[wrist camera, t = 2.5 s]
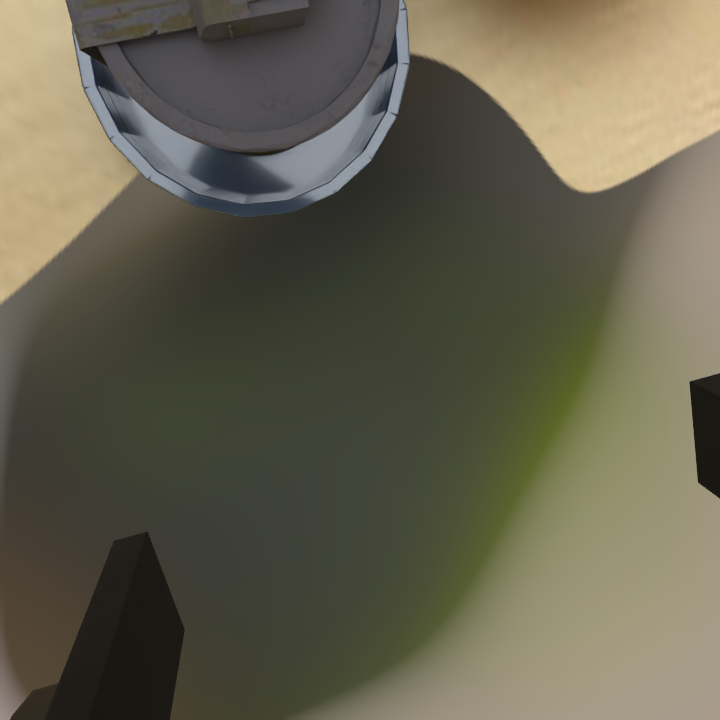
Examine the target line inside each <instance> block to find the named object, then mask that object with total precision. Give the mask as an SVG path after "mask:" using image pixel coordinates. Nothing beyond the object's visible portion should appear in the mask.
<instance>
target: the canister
mask: <svg viewBox="0 0 720 720" xmlns="http://www.w3.org/2000/svg"><path fill="white" fill-rule="evenodd" d="M399 2H400V0H66V4H67V7H68V11H69V14H70V18H71V21H72V25H73V28H74V32H75V35H76V39H77V42H78V46H79V49H80V51H82V52H84V53H85V54H87V55H89V56H90V57H92V58H94V59H95V60H97V61H99V62H100V63H102V64H104V65H105V66H107V67H109V68H110V70H111V72H112V74H113V75H114V76H115V78H116V79H117V80H118V81H119V83H120V84H121V85H122V87H123V88H124V89H125V90H126V92H127V93H128V94H129V95H130V97H131V98H133V99H134V100H135V101H136V102H137V103H138V104H139V105H140V106H141V107H142V108H144V109H145V110H146V111H147V112H148V113H149V114H150V115H151V116H152V117H153V118H155V119H156V120H158V121H159V122H161V123H162V124H164V125H166V126H167V127H169V128H170V129H172V130H173V131H175V132H177V133H179V134H181V135H183V136H185V137H187V138H189V139H191V140H194V141H196V142H199V143H202V144H205V145H208V146H211V147H214V148H219V149H224V150H226V151H229V152H233V153H236V154H241V155H249V156H264V155H272V154H276V153H280V152H284V151H287V150H289V149H291V148H294V147H296V146H297V145H299V144H301V143H304V142H306V141H309V140H311V139H313V138H315V137H317V136H318V135H320V134H322V133H324V132H326V131H328V130H329V129H331V128H332V127H334V126H335V125H336V124H337V123H339V122H340V121H341V120H342V119H343V118H345V117H346V116H347V115H348V114H349V113H350V112H351V111H352V110H353V109H354V108H356V106H357V105H358V104H359V103H360V102H361V100H362V99H363V98H364V97H365V95H366V94H367V93H368V92H369V90H370V89H371V87H372V85H373V84H374V82H375V81H376V79H377V77H378V76H379V74H380V72H381V70H382V68H383V66H384V63H385V61H386V59H387V57H388V55H389V53H390V49H391V45H392V42H393V38H394V34H395V30H396V27H397V23H398V16H399Z"/></svg>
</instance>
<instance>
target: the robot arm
mask: <svg viewBox="0 0 720 720" xmlns="http://www.w3.org/2000/svg"><path fill="white" fill-rule="evenodd" d="M690 393H691V405H692V416H693V428H694V440H695V451H696V463H697V475H698V483H700V484H701V485H702V486H704V487H705V488H706V489H708V490H709V491H710V492H712V493H713V494H715V495H716V496H717V497H719V498H720V373H719V374H716V375H712V376H709V377H705V378H701V379H698V380H694V381H691V382H690ZM183 636H184V626H183V624H182V621H181V619H180V616H179V614H178V611H177V608H176V606H175V603H174V600H173V598H172V595H171V592H170V590H169V587H168V584H167V582H166V579H165V576H164V574H163V571H162V569H161V566H160V563H159V561H158V558H157V555H156V553H155V550H154V548H153V545H152V542H151V540H150V537H149V534H148V532H144V533H141V534H137V535H134V536H130V537H126V538H123V539H119V540H115V541H114V542H113V545H112V547H111V550H110V553H109V555H108V558H107V561H106V563H105V565H104V568H103V571H102V573H101V576H100V578H99V581H98V583H97V586H96V589H95V591H94V594H93V596H92V599H91V601H90V604H89V607H88V609H87V612H86V614H85V617H84V619H83V622H82V624H81V627H80V630H79V632H78V635H77V637H76V640H75V642H74V645H73V648H72V650H71V653H70V655H69V658H68V661H67V663H66V666H65V668H64V671H63V673H62V676H61V679H60V681H59V683H57V684H54V685H50V686H47V687H43V688H40V689H36V690H33V691H32V692H31V694H30V695H29V696H28V697H27V698H26V700H25V701H24V702H23V703H22V704H21V706H20V707H19V708H18V709H17V710H16V712H15V713H14V714H13V715H12V717H11V719H10V720H170V714H171V709H172V702H173V696H174V690H175V685H176V679H177V672H178V667H179V661H180V654H181V648H182V643H183Z"/></svg>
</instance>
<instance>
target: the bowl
mask: <svg viewBox="0 0 720 720" xmlns="http://www.w3.org/2000/svg"><path fill="white" fill-rule="evenodd" d="M72 31H73V32H72V34H73V39H74V44H75V50H76V55H77V60H78V66H79V71H80V76H81V81H82V87H83V88H84V92H85V94H86V96H87V98H88V100H89V102H90V104H91V105H92V107H93V109H94V111H95V113H96V115H97V117H98V119H99V121H100V123H101V125H102V127H103V129H104V131H105V133H106V135H107V137H108V138H109V139H110V141H111V142H112V144H113V145H114V146H115V147H116V148H117V149H118V150H119V151H120V152H121V153H122V154H123V155H124V156H125V157H126V158H127V159H128V160H129V161H130V162H131V164H132V165H133V166H134V167H135V168H136V169H137V170H138V171H139V172H140V173H141V174H142V175H143V176H144V177H145V178H146V179H147V180H149V181H150V182H151V183H153V184H155V185H157V186H158V187H160V188H162V189H164V190H165V191H167V192H169V193H171V194H172V195H174V196H176V197H178V198H179V199H181V200H183V201H185V202H186V203H188V204H190V205H192V206H194V207H198V208H202V209H207V210H211V211H215V212H220V213H224V214H229V215H234V216H238V217H255V216H265V215H276V214H286V213H291V212H295V211H297V210H300V209H302V208H304V207H306V206H309V205H311V204H313V203H315V202H317V201H320V200H322V199H324V198H327V197H329V196H331V195H333V194H335V193H337V192H338V191H339V190H340V189H341V188H343V187H344V186H345V185H346V184H347V183H348V182H349V181H350V180H351V179H352V178H354V177H355V176H356V175H357V174H358V173H359V172H360V171H361V170H362V169H363V168H365V167H366V166H367V165H368V164H369V163H370V162H371V161H372V159H374V157H375V155H376V153H377V152H378V150H379V148H380V146H381V145H382V143H383V141H384V140H385V138H386V136H387V134H388V132H389V131H390V129H391V127H392V126H393V124H394V122H395V121H396V119H397V116H398V114H399V110H400V106H401V101H402V97H403V92H404V88H405V84H406V80H407V75H408V71H409V67H410V65H409V64H410V54H409V37H408V19H407V9H406V5H405V2H404V0H400V2H399V16H398V23H397V27H396V30H395V34H394V38H393V42H392V45H391V49H390V53H389V55H388V57H387V59H386V61H385V63H384V66H383V68H382V70H381V72H380V74H379V76H378V77H377V79H376V81H375V82H374V84H373V85H372V87H371V89H370V90H369V92H368V93H367V94H366V95H365V97H364V98H363V99H362V100H361V102H360V103H359V104H358V105H357V106H356V108H354V109H353V110H352V111H351V112H350V113H349V114H348V115H347V116H346V117H345V118H343V119H342V120H341V121H340V122H339V123H337V124H336V125H335V126H334V127H332V128H331V129H329V130H328V131H326V132H324V133H322V134H320V135H318V136H317V137H315V138H313V139H311V140H309V141H306V142H304V143H301V144H299V145H297V146H296V147H294V148H291V149H289V150H287V151H284V152H280V153H276V154H272V155H264V156H249V155H241V154H236V153H233V152H229V151H226V150H224V149H219V148H214V147H211V146H208V145H205V144H202V143H199V142H196V141H194V140H191V139H189V138H187V137H185V136H183V135H181V134H179V133H177V132H175V131H173V130H172V129H170V128H169V127H167V126H166V125H164V124H162V123H161V122H159V121H158V120H156V119H155V118H153V117H152V116H151V115H150V114H149V113H148V112H147V111H146V110H145V109H144V108H142V107H141V106H140V105H139V104H138V103H137V102H136V101H135V100H134V99H133V98H131V97H130V95H129V94H128V93H127V92H126V90H125V89H124V88H123V87H122V85H121V84H120V83H119V81H118V80H117V79H116V78H115V76H114V75H113V74H112V72H111V70H110V68H109V67H107V66H105V65H104V64H102V63H100V62H99V61H97V60H95V59H94V58H92V57H90V56H89V55H87V54H85V53H84V52H82V51H80V49H79V46H78V42H77V39H76V35H75V32H74V28H73V25H72Z"/></svg>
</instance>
